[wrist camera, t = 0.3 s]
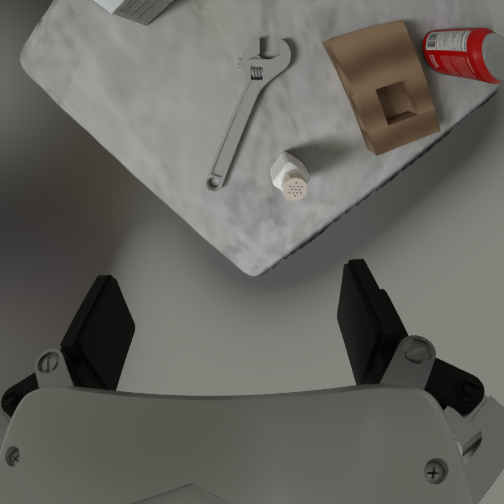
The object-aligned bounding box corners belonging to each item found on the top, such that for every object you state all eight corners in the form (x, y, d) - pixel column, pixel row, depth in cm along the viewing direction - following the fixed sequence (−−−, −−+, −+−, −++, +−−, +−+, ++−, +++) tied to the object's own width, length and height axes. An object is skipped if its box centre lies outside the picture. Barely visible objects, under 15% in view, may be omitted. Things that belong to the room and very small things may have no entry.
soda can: (414, 29, 31) (473, 25, 18) (450, 30, 30) (511, 31, 17) (424, 75, 35) (485, 86, 22) (459, 73, 34) (520, 86, 21)
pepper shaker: (268, 170, 45) (273, 194, 37) (283, 149, 43) (291, 168, 35) (289, 183, 46) (299, 209, 38) (304, 163, 44) (317, 185, 36)
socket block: (322, 42, 34) (329, 39, 30) (390, 22, 31) (402, 19, 27) (367, 148, 43) (377, 155, 39) (427, 125, 40) (440, 131, 36)
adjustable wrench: (219, 191, 47) (218, 195, 46) (182, 175, 46) (180, 179, 44) (295, 49, 35) (297, 49, 33) (254, 30, 33) (255, 28, 32)
